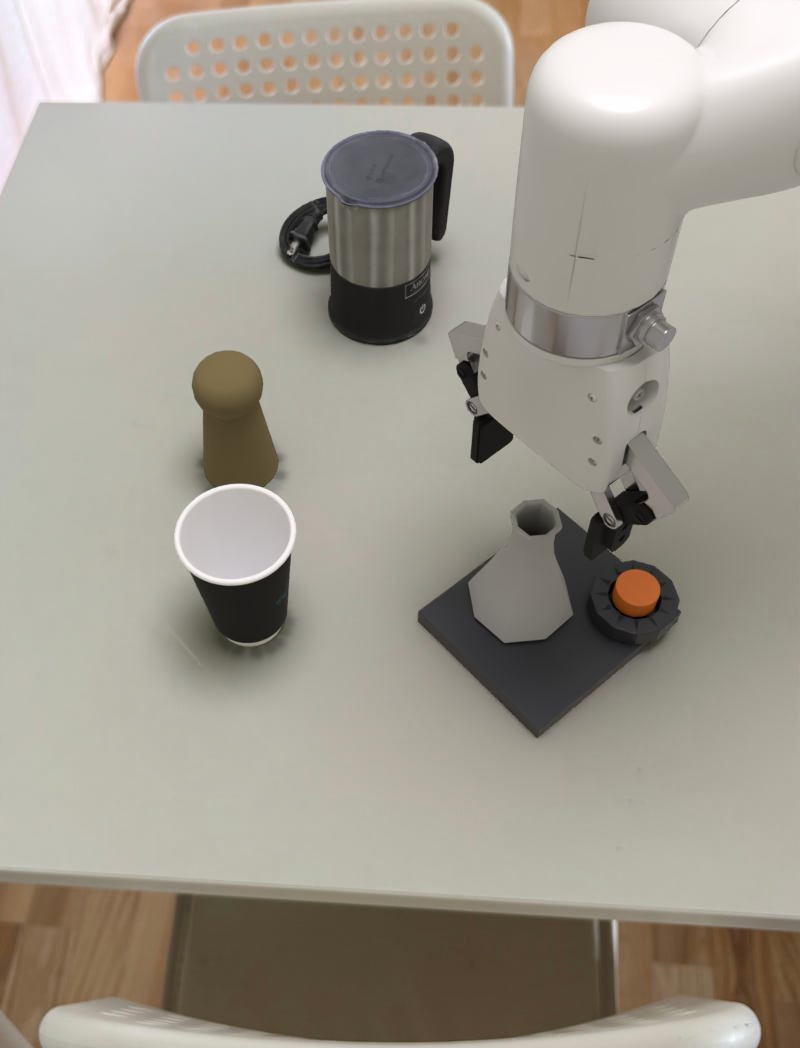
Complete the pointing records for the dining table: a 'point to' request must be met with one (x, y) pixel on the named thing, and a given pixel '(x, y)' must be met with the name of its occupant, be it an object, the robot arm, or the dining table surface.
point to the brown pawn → (233, 420)
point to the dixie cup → (239, 558)
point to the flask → (524, 579)
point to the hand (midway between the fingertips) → (546, 495)
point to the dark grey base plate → (554, 635)
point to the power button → (636, 593)
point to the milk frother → (377, 230)
